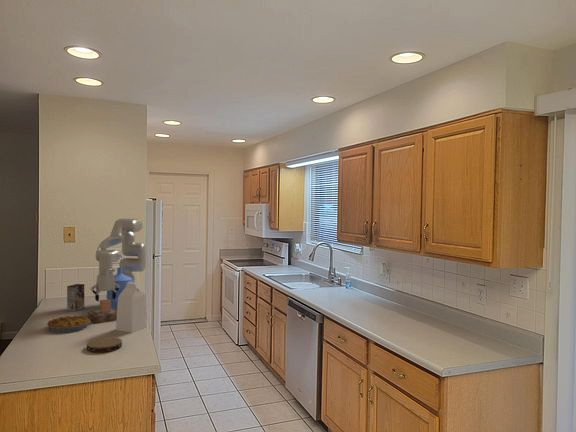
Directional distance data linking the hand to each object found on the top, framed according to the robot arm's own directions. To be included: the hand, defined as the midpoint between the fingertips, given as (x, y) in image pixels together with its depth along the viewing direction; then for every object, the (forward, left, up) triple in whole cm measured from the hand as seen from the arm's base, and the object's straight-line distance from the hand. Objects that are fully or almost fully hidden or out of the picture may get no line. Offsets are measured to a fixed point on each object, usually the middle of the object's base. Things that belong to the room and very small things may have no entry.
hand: (105, 299), depth 268 cm
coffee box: (+8, -34, -12) cm, 37 cm away
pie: (+22, +7, -12) cm, 26 cm away
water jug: (-14, -16, -12) cm, 24 cm away
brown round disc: (+17, +53, -12) cm, 57 cm away
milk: (-5, +30, -12) cm, 32 cm away
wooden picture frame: (0, 0, -12) cm, 12 cm away
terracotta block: (0, 0, -7) cm, 7 cm away
